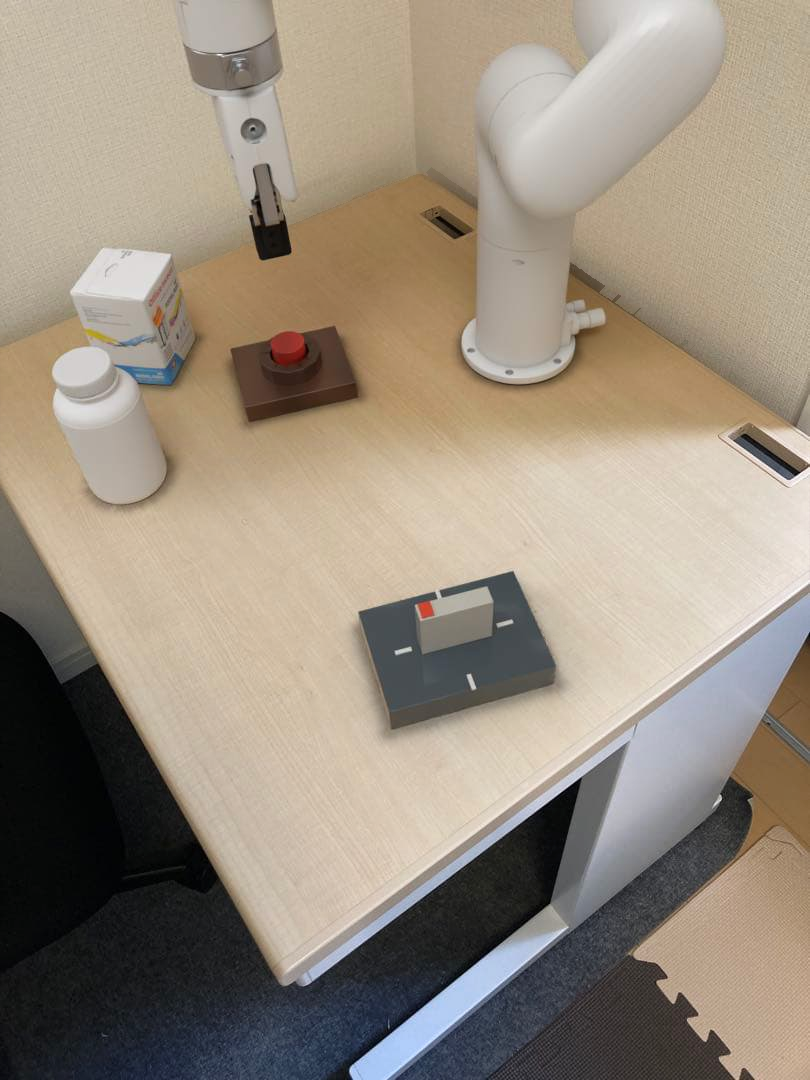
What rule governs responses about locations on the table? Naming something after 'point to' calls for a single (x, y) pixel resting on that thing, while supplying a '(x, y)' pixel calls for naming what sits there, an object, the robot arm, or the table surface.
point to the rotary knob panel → (455, 656)
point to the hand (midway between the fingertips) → (274, 252)
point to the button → (288, 348)
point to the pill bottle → (107, 426)
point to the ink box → (135, 313)
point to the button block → (294, 376)
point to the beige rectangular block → (454, 620)
